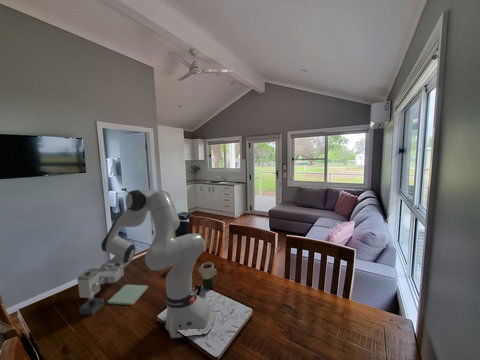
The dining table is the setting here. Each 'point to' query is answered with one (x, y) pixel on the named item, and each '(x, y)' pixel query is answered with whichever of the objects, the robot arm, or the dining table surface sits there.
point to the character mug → (207, 274)
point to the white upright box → (88, 284)
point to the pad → (128, 294)
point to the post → (91, 306)
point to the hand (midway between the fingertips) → (87, 285)
